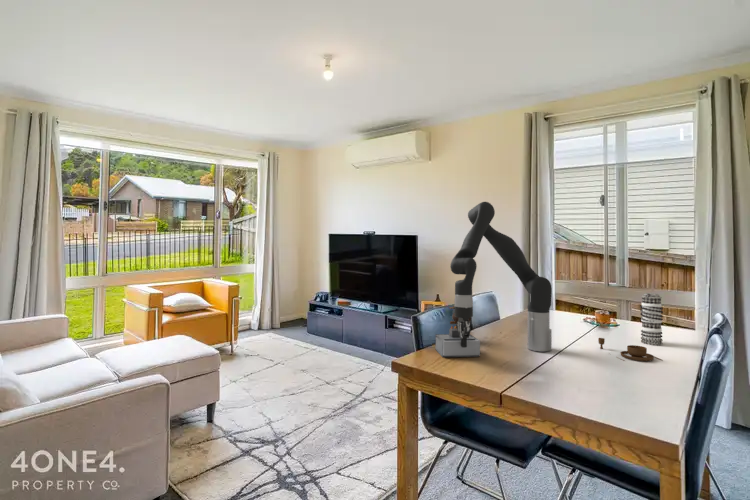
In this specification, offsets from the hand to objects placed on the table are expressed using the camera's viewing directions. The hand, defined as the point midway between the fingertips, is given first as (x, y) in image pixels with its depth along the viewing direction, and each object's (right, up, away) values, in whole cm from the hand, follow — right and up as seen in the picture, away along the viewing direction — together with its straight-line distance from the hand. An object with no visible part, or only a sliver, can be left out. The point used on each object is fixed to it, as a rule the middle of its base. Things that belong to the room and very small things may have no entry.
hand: (463, 347), depth 161 cm
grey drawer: (-1, -4, +8) cm, 9 cm away
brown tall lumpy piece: (+6, -6, +30) cm, 31 cm away
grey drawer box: (-1, -5, +9) cm, 11 cm away
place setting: (+75, -6, +8) cm, 75 cm away
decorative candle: (+96, -6, +25) cm, 100 cm away
